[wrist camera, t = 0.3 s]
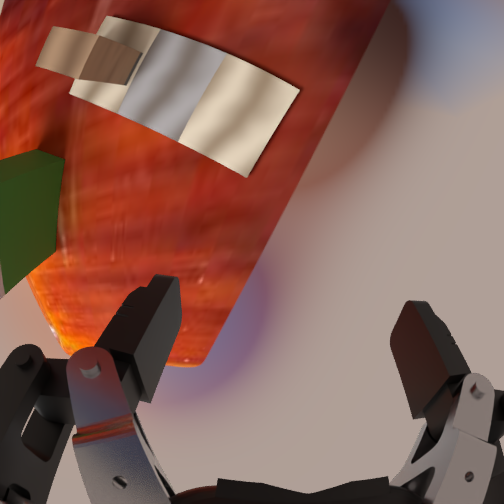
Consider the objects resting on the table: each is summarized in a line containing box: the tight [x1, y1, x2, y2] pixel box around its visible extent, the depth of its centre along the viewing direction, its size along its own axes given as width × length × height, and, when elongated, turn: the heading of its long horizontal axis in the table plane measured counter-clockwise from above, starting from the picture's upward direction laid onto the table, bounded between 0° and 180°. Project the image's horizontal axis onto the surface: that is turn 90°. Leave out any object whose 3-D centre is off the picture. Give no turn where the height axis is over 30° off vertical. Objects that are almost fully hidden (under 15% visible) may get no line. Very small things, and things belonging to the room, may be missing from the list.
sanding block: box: [36, 26, 143, 86], centre depth 23 cm, size 8×5×11 cm, turn 61°
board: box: [69, 16, 300, 178], centre depth 30 cm, size 30×13×1 cm, turn 61°
